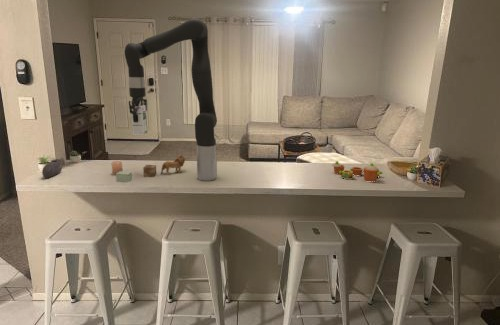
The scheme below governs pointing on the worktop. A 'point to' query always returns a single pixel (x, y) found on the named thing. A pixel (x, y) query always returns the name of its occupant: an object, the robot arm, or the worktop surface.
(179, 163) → the lion figurine
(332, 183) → the worktop surface
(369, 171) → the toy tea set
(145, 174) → the walnut block
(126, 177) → the sage painted block
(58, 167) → the perforated stone tool
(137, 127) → the syrup box
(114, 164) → the orange-brown rounded piece
